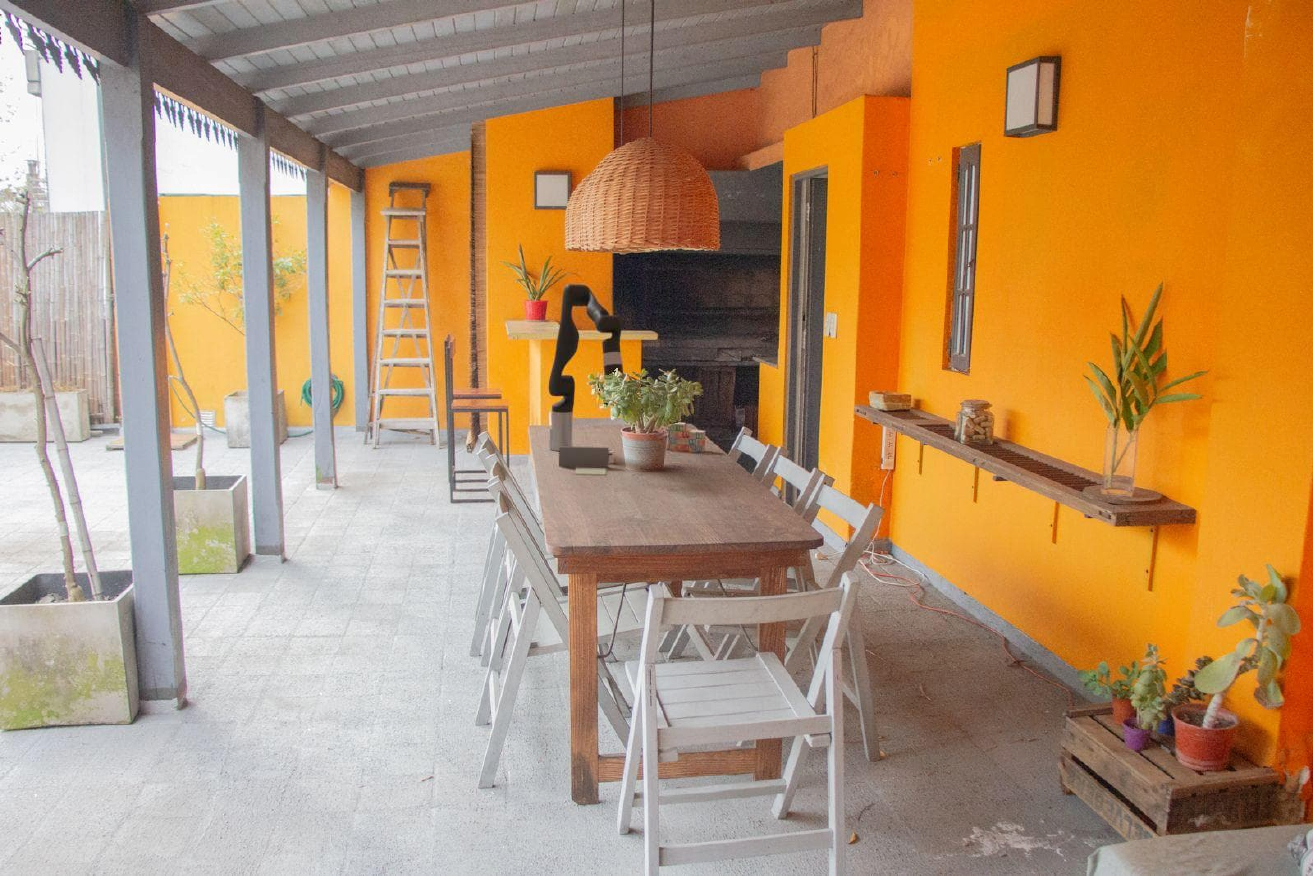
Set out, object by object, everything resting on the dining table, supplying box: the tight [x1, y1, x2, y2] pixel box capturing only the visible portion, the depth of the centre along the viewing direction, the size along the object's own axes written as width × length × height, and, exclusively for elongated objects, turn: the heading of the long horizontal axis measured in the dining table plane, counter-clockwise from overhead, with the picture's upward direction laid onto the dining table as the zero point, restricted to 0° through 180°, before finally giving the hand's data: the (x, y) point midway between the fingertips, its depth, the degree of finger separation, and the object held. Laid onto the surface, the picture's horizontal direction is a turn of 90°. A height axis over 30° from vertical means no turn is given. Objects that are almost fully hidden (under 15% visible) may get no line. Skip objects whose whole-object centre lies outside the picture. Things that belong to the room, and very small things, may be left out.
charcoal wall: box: [558, 446, 609, 468], centre depth 413 cm, size 20×2×8 cm, turn 93°
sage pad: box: [574, 467, 607, 476], centre depth 403 cm, size 12×12×1 cm
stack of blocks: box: [666, 421, 707, 453], centre depth 460 cm, size 21×6×12 cm, turn 73°
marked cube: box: [608, 449, 615, 463], centre depth 424 cm, size 5×5×5 cm
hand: (616, 404), depth 402 cm, fingers open, 8 cm apart
